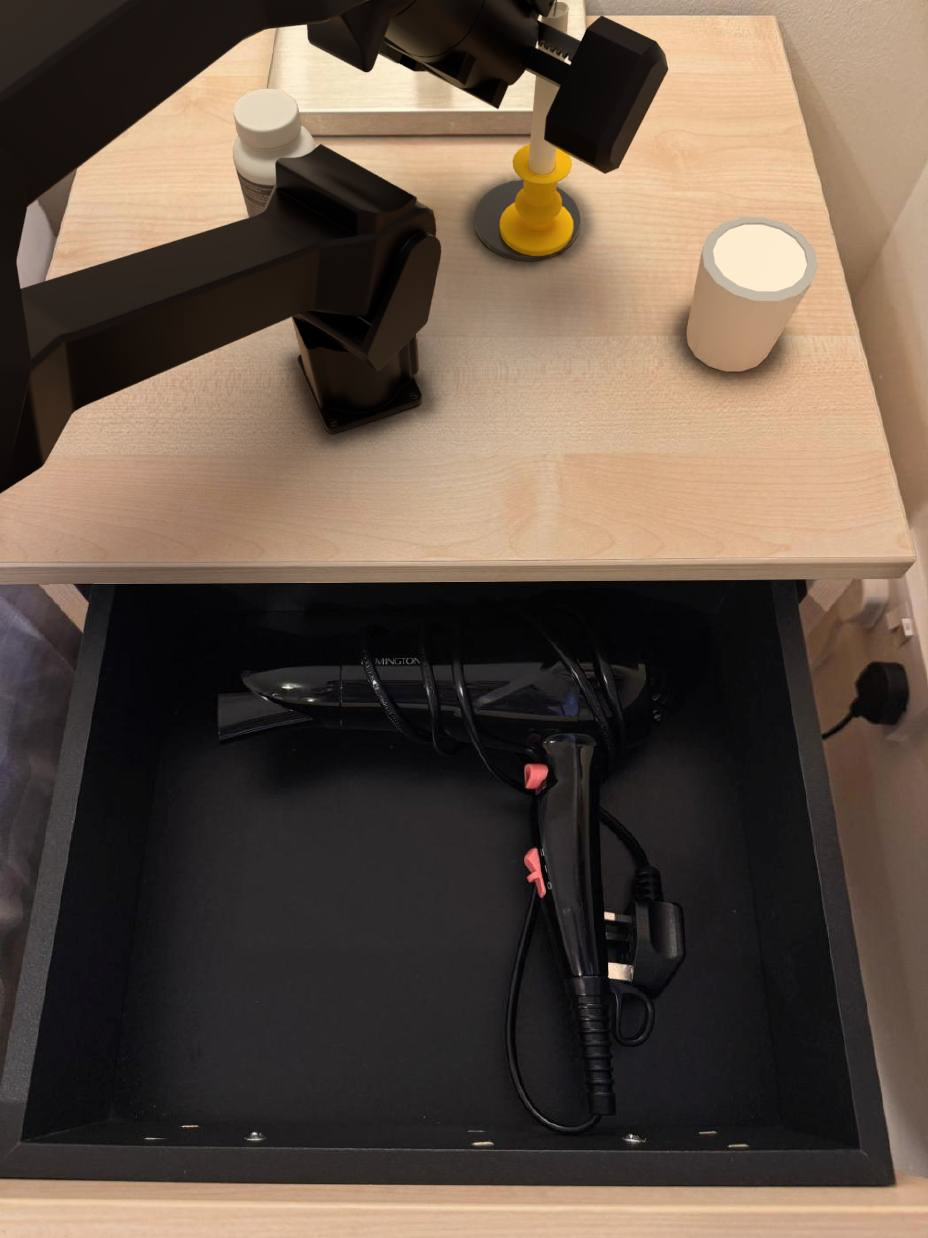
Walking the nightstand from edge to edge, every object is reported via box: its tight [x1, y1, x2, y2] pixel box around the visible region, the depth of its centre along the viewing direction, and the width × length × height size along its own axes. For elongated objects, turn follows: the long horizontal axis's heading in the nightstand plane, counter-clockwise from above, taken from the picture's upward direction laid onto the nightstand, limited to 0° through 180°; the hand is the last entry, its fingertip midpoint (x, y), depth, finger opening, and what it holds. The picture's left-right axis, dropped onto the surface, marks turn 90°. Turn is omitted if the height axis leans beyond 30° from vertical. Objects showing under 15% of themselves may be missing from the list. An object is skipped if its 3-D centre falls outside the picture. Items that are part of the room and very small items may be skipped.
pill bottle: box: [232, 88, 317, 218], centre depth 58 cm, size 5×5×10 cm
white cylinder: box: [685, 216, 819, 372], centre depth 56 cm, size 7×7×7 cm
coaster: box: [473, 179, 581, 262], centre depth 63 cm, size 8×8×1 cm
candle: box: [500, 0, 574, 256], centre depth 55 cm, size 5×5×16 cm
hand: (549, 89), depth 55 cm, fingers open, 9 cm apart
